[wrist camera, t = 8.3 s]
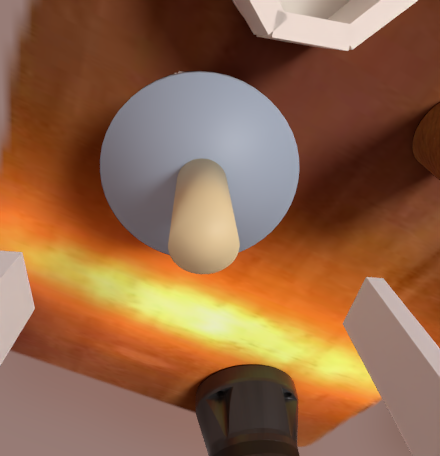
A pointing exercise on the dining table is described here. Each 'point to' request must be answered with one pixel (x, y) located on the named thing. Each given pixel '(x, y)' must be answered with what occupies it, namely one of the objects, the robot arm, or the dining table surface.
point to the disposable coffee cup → (428, 141)
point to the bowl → (320, 20)
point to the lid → (199, 168)
